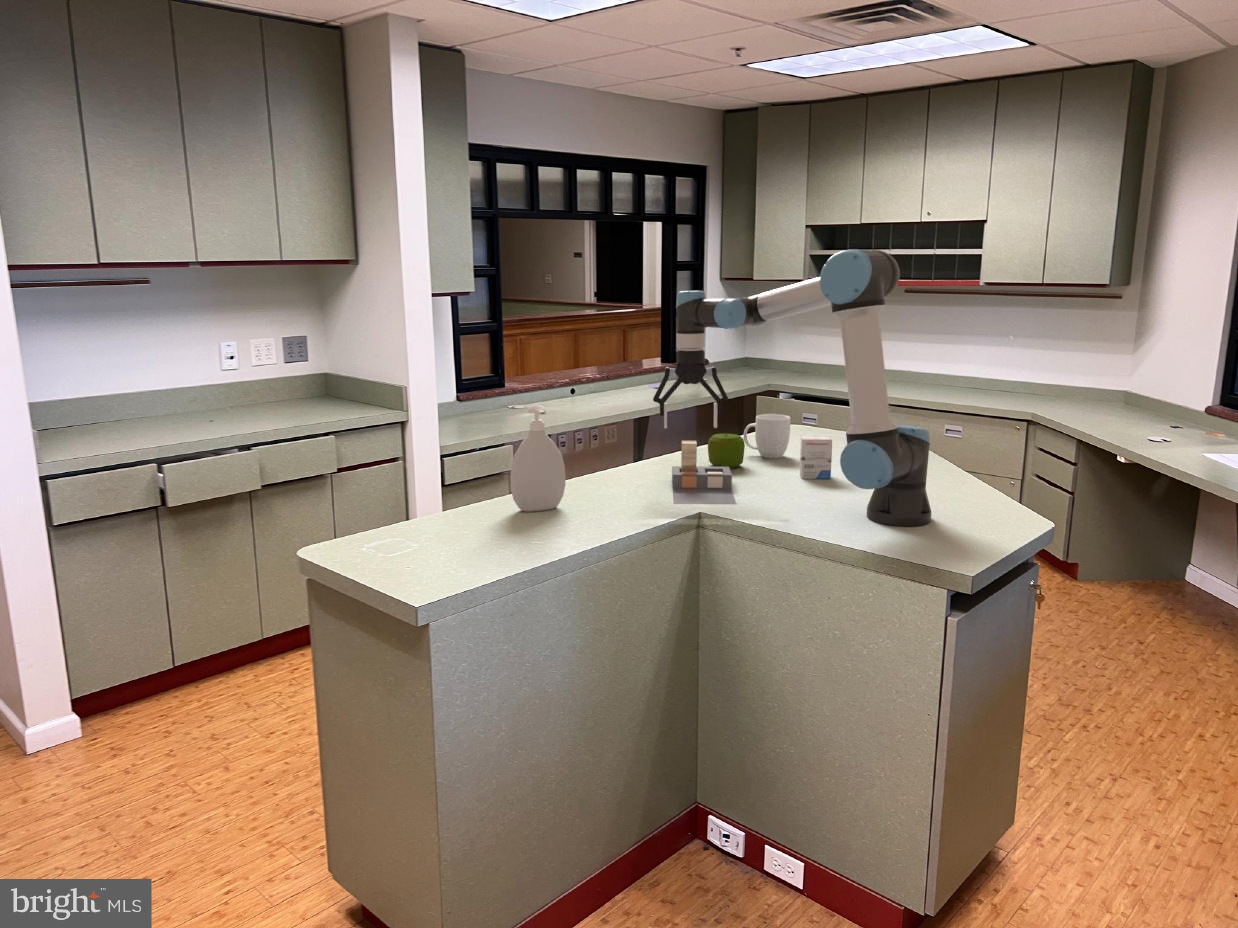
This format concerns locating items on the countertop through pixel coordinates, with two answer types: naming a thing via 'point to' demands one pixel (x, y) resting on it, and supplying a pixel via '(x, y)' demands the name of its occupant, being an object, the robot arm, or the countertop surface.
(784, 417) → the mug
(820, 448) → the ink box
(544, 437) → the soap bottle
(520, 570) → the countertop surface
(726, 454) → the apple
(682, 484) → the socket station
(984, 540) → the countertop surface
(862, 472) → the robot arm
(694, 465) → the birch plug
